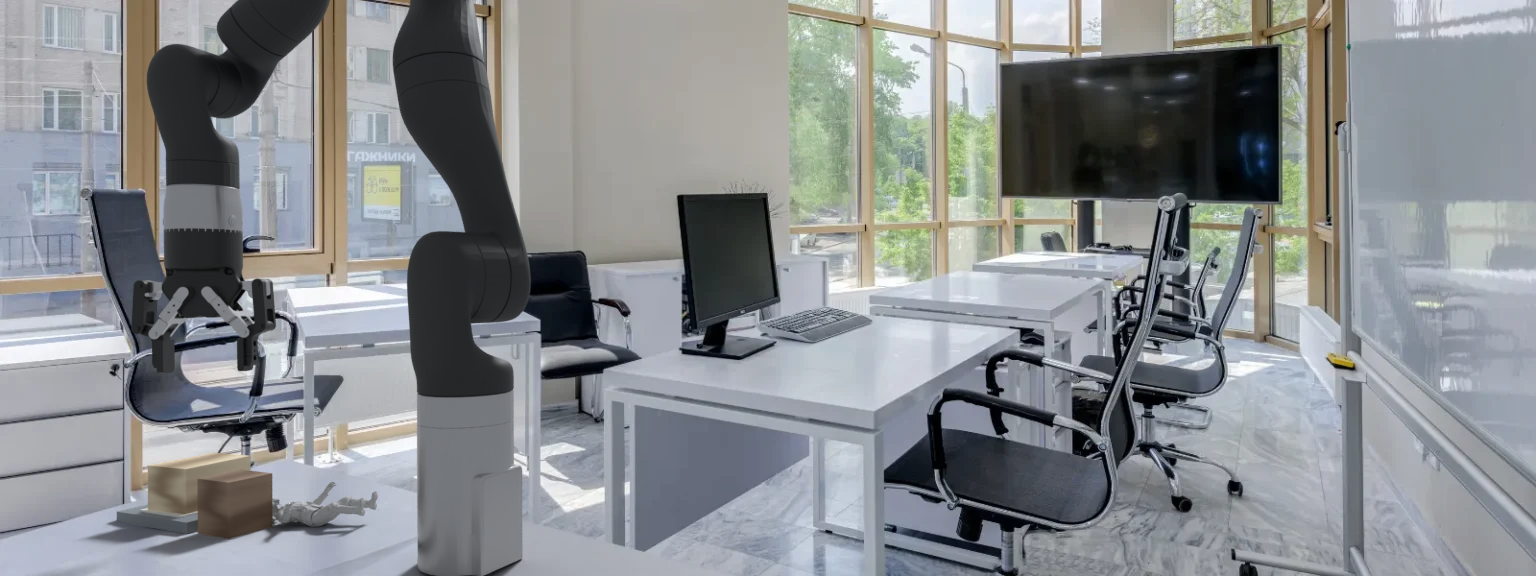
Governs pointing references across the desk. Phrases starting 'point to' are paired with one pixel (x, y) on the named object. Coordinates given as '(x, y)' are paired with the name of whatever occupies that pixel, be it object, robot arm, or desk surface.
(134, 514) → the board
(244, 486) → the walnut cube
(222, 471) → the maple block
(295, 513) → the soldier figure
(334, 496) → the desk surface
